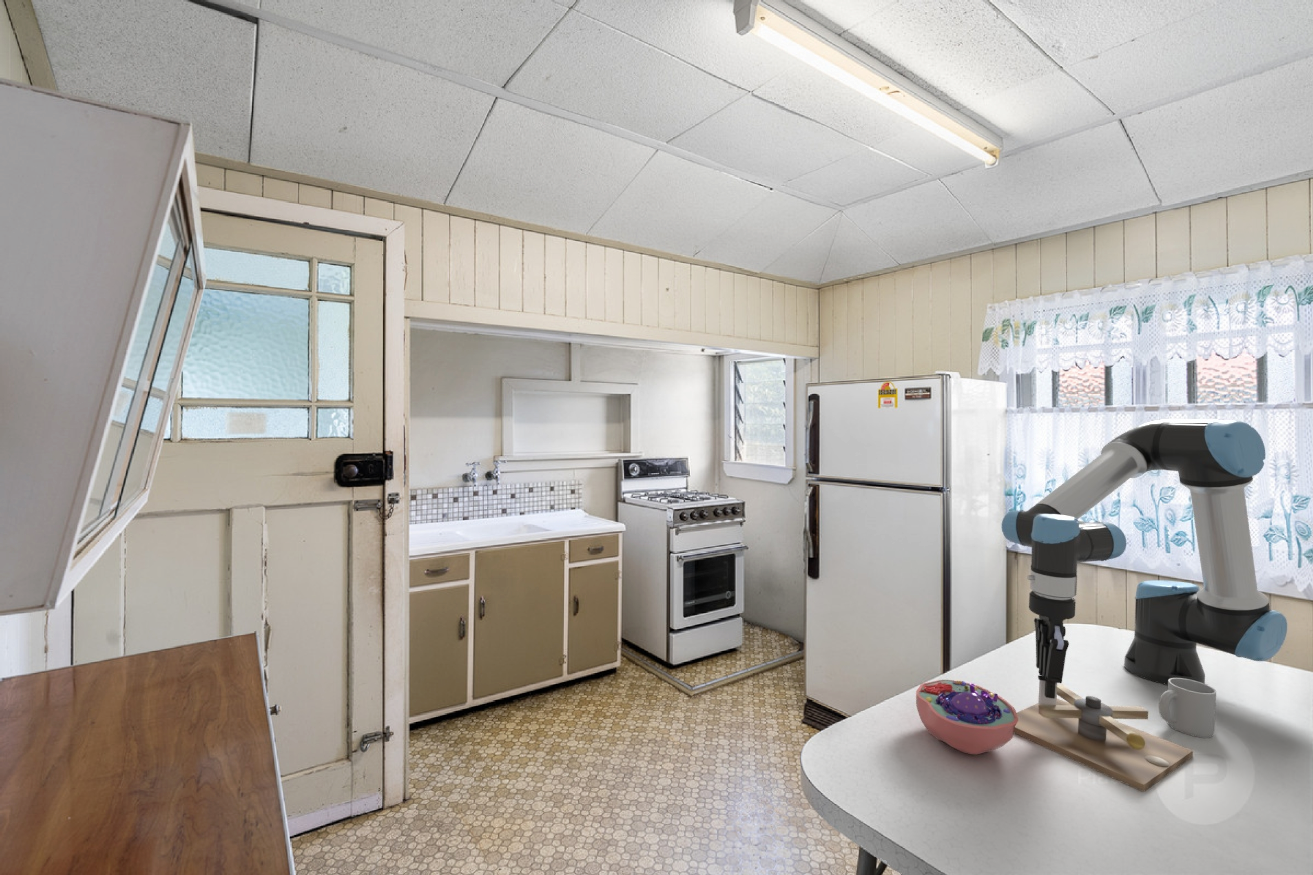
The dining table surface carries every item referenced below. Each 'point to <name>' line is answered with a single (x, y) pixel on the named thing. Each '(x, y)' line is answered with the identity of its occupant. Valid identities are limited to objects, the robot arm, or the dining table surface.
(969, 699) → the cell model
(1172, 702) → the cup
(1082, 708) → the capstan
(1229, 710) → the dining table surface
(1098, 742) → the stand
